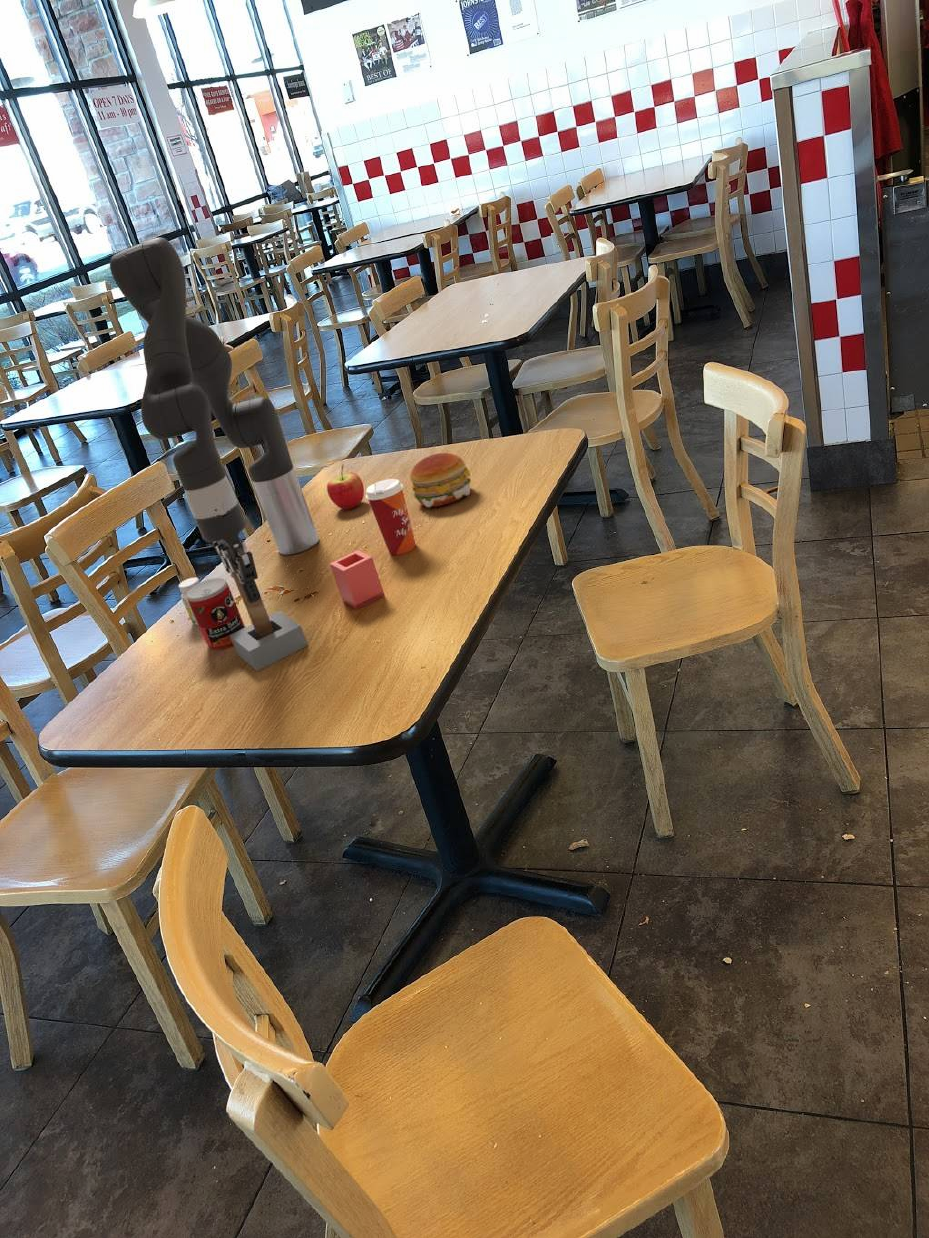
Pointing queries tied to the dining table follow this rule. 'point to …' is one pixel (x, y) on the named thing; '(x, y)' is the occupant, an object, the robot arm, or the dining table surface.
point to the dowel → (256, 612)
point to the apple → (346, 490)
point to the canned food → (215, 612)
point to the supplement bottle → (184, 588)
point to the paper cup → (392, 515)
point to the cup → (357, 579)
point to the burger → (440, 479)
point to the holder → (269, 642)
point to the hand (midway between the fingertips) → (251, 597)
